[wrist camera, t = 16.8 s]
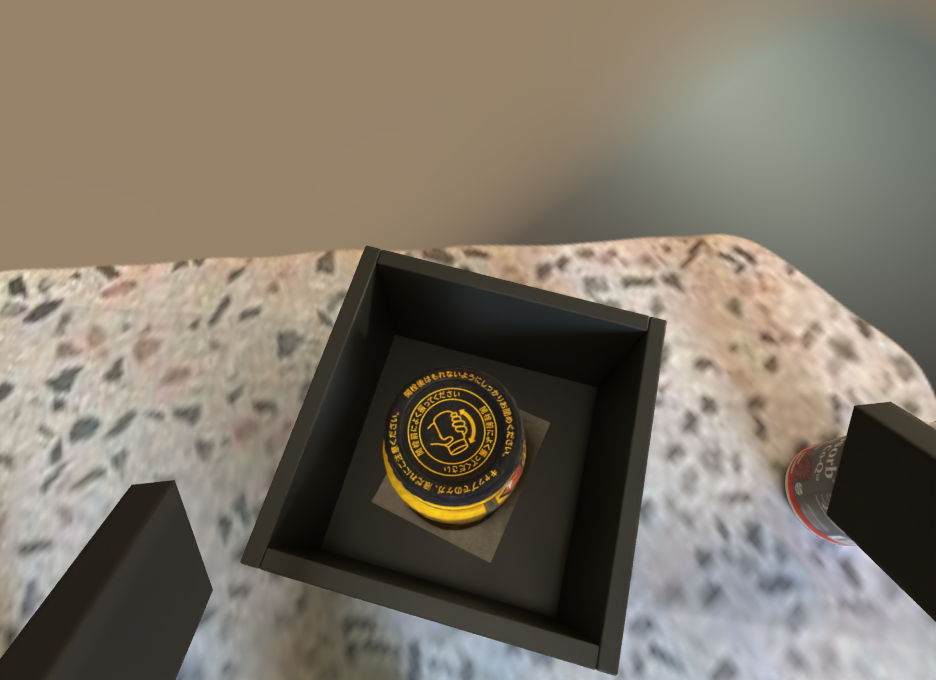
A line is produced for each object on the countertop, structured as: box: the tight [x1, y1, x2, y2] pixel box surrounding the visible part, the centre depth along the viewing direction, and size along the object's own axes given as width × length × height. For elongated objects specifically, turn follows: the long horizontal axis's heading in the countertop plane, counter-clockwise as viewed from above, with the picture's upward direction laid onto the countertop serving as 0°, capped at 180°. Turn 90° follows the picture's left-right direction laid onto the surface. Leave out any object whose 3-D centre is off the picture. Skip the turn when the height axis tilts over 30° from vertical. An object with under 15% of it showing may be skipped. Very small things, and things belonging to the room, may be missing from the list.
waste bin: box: [241, 246, 667, 676], centre depth 27 cm, size 15×15×10 cm
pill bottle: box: [785, 421, 936, 546], centre depth 27 cm, size 6×6×10 cm
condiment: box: [372, 365, 550, 563], centre depth 25 cm, size 7×8×12 cm
